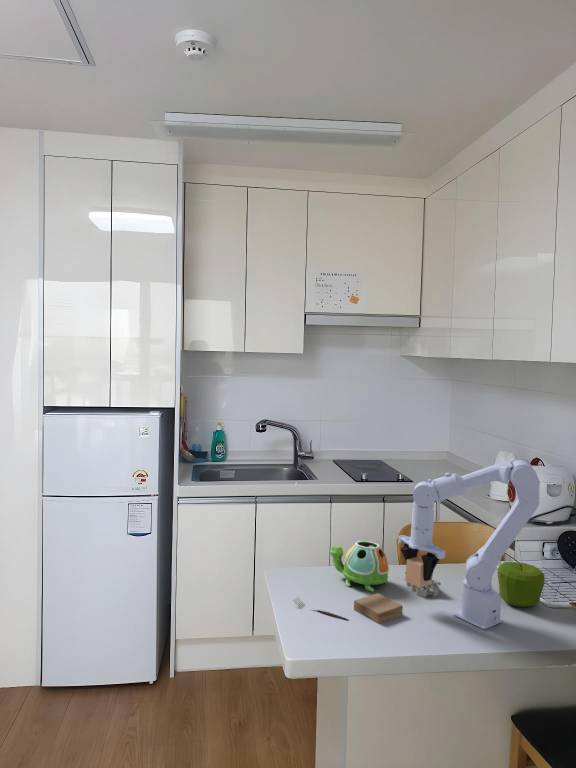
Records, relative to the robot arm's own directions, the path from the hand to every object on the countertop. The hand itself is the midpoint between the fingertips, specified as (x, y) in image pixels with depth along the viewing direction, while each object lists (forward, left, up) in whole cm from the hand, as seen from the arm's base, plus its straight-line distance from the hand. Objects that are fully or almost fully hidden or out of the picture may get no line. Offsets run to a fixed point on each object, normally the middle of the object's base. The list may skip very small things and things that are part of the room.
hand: (419, 576), depth 158 cm
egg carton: (+8, -11, -9) cm, 17 cm away
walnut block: (+4, +11, -9) cm, 15 cm away
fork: (+12, +24, -10) cm, 28 cm away
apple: (-13, -28, -9) cm, 32 cm away
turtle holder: (+21, +1, -9) cm, 23 cm away
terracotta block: (0, 0, -2) cm, 2 cm away
